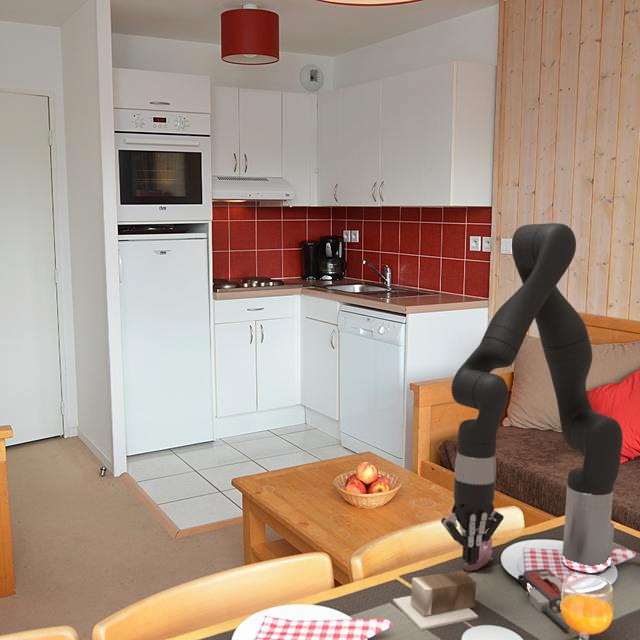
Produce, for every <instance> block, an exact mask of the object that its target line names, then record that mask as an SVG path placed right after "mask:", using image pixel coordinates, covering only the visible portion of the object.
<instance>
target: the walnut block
mask: <svg viewBox="0 0 640 640" xmlns="http://www.w3.org/2000/svg"><path fill="white" fill-rule="evenodd" d="M477 583H478V582H477V581H476V580H474V579H473V578H472V577H471V576H470V575H468V574H467V573H466V572H465V571H464V570H457V571H449V572H444V573H436V574H431V575H422V576H417V577H416V576H415V577H412V579H411V590H410V591H411V593H410V596H411V604H412V605H413V606H414V607H415V608H416V609H417V610H418V611H419V612H420V613H421V614H422V615H424V616H425V615H431V614H437V613H442V612H448V611H454V610H460V609H466V608H470V609H471V608H475V606H476V593H477Z"/></svg>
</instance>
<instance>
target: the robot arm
mask: <svg viewBox="0 0 640 640" xmlns="http://www.w3.org/2000/svg"><path fill="white" fill-rule="evenodd" d="M576 249H577V239H576V236H575V233H574V231H573V230H572V228H571V227H570V226H568V225H566V224H565V223H559V222H555V223H554V222H548V223H534V224H525V225H524V224H523V225H521V226H519V227H518V228H517V229H516V230H515V232H514V233H513V235H512V240H511V253H512V258H513V259H512V260H513V262H514V265H515V267H516V270H517V274H518V275H519V277H520V280H521V282H522V283H521V284H522V285H521V286H520V287H519V288H518V289H517V291H516V292H515V293H513V294H512V295H511V296H510V297H509V298H508V299H507V300H506V301H505V302H504V303H503V304H502V305H501V306H500V307H499V308H498V310H497V311H496V312H495V313H494V315H493V316H492V318H491V320H490V322H489V324H488V326H487V328H486V330H485V332H484V335H483V337H482V338H481V341H480V343H479V345H478V347H477V348H476V349H474V351H473V352H472V353H471V354H470V356H469V357H468V358H467V359H466V361H464V363H463V364H462V365H461V366H460V367H459V368H458V370H457V371H456V373H455V375H454V377H453V378H452V379H453V380H452V384H451V396H452V399H453V400H454V401H455V403H457V404H459V405H460V406H464V407H467V408H470V409H474V410H475V409H476V410H478V415H477V417H476V418H471V419H465V420H463V421H461V422H460V424H459V426H458V431H457V433H458V434H457V446H456V449H457V452H456V457H455V464H454V481H453V500H454V505H453V507H452V508H451V514H450V515H448V517H443V518H441V520H440V523H441V524H442V526H443V527H444V528H445V530H446V531H447V532H448V533H449V536H450V537H452V539H453V540H454V541H455V542H457V543H458V544H459V545H461V546H462V555H461V557H462V560H463V561H464V563H465V562H466V563H467V564H468V565H473V564H477V561H478V559H479V549H480V545H481V543H482V542H484V541H486V542H487V541H489V539H490V538H492V536H493V535H494V534H495V532H496V531H497V529H498V527H499V526H500V525H501V523H502V522H503V520H504V518H505V517H504V515H503V514H502V513H500V512H499V511H497V510H496V509H495V506H494V501H495V491H496V489H495V488H496V474H497V473H496V472H497V464H496V463H497V462H496V451H497V434H498V430H499V428H500V425H501V422H502V421H501V420H502V418H503V415H504V412H505V410H506V407H507V404H508V400H509V388H508V384H507V382H506V380H505V379H504V377H502V376H500V375H499V374H496V373H491V372H492V371H494V370H496V369H502V368H504V369H505V368H508V367H510V366H512V365H513V364H514V362H515V360H516V358H517V355H518V353H519V351H520V349H521V347H522V344H523V343H524V340H525V339H526V336H527V334H528V332H529V329H530V327H531V326H532V324H533V322H534V320H535V323H536V327H537V329H538V334H539V339H540V342H541V346H542V350H543V354H544V358H545V360H546V363H547V366H548V369H549V373H550V378H551V382H552V386H553V390H554V393H555V398H556V402H557V410H558V415H559V416H558V417H559V423H560V428H561V433H562V437H563V439H564V442H565V444H566V445H567V446H568V447H569V448H570V449H572V450H573V451H575V452H577V453H579V454H581V455H584V456H583V458H584V459H583V464H582V467H577V468H573V469H571V470H570V471H569V472H568V474H567V480H566V482H567V483H566V498H565V509H564V510H565V512H564V514H565V515H564V526H563V527H564V528H563V539H562V540H563V542H562V543H563V544H562V555H563V556H564V557H565V558H566V559H568V560H570V561H573V562H577V563H580V564H583V565H588V566H595V565H600V564H604V563H606V562H607V560H608V558H610V557H613V547H614V545H613V544H614V533H615V525H614V523H613V522H612V511H613V510H612V509H613V499H614V498H613V497H614V486H615V482H616V481H617V478H618V477H619V473H620V463H621V457H622V449H623V441H624V439H623V431H622V427H621V424H620V423H619V422H618V421H617V420H616V419H614V418H612V417H610V416H608V415H604V414H602V413H599V412H595V410H594V409H593V407H592V405H591V402H590V399H589V396H588V391H587V380H588V376H589V373H590V370H591V366H592V363H593V349H592V344H591V341H590V337H589V336H590V335H589V333H588V328H587V326H586V324H585V322H584V320H583V318H582V317H581V315H580V314H579V313H578V312H577V309H576V308H574V306H573V305H571V303H570V302H569V301H568V300H567V299H566V298H565V296H564V295H563V294H562V292H560V290H559V288H558V287H557V285H558V283H559V282H560V281H561V279H562V277H563V276H564V275H565V273H566V272H567V270H568V268H569V266H570V265H571V263H572V262H573V260H574V257H575V255H576ZM458 524H459V530H460V531H459V530H458V528H457V527H458Z"/></svg>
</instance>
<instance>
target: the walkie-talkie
mask: <svg viewBox="0 0 640 640" xmlns="http://www.w3.org/2000/svg"><path fill="white" fill-rule="evenodd" d="M517 580H518V581H519V582H520V583H521V586H523V588H524V589H526V587H527V583H529V584H530V585H531V586H532V588H530V589H529V590H530V594H529V593H528V595H529V600H528V601H529V603H530V604H531V605H532V606H533V607H534V608H535V609H536V610H537V611H538V613H542V612H543V613H546V614H547V615H549V617H551V618H552V619H553V620H554V621H555V622H556V623H557V624H558V625H560V626H561V627H562V628H563V629H564V630H567V631H568V630H570V625H568V623H566V622H565V621H564V620H563V619H562V618H561V617H560V616H559V615H558V614H557V612H559V611H561V610H560V601H561V593H562V585H563V582H564V581H563V580H561V579H560V578H559V577H558V576H557V575H555V573H553V572H552V571H550V570H549V569H547V568H540V569H533V570H532V569H531V570H526V571H524V572H523V574H519V575H518V576H517Z"/></svg>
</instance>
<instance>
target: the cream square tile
mask: <svg viewBox="0 0 640 640" xmlns="http://www.w3.org/2000/svg"><path fill="white" fill-rule="evenodd" d="M392 603H394V604H395V606H397V607H398V609H399V610H400V611H402V613H403V614H405V616H406V617H408V619H409V620H410V622H411V621H412V623H413V624H414V625H415V626H416V627H417V628H418V630H420V631H424V630H428V629H433V628H440V627H442V626H443V627H444V626H447V625H453V624H458V623H463V622H466V621H467V622H468V621H473V620H476V619H479V615H478V614H477V613H476V612H474V611H473V610H472V609H471V608H466V609H460V610H454V611H448V612H442V613H437V614H431V615H425V616H424V615H422V614H421V613H420V612H419V611H418V610H417V609H416V608H415V607H414V606H413V605H412V604H411V595H409V596H408V595H407V596H402V597H398V598H393V599H392Z"/></svg>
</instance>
